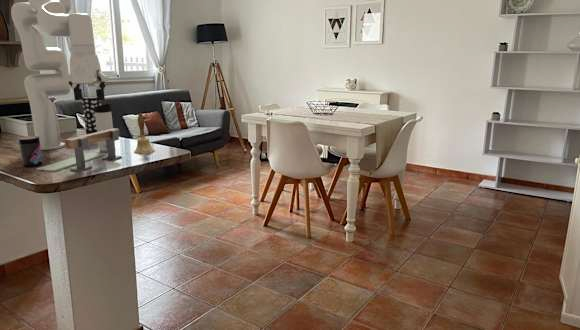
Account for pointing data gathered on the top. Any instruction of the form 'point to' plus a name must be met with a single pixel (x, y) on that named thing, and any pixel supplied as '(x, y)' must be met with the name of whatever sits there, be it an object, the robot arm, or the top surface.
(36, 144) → the supplement container
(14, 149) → the top surface
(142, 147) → the hand bell
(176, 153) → the top surface
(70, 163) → the mat
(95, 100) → the white-spotted black cylinder
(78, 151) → the rack
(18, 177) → the top surface
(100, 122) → the travel mug
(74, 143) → the rail
